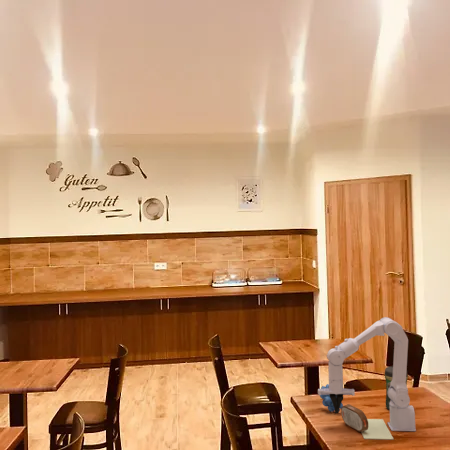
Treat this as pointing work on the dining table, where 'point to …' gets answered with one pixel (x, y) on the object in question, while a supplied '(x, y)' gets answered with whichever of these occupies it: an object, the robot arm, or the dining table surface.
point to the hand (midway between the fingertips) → (336, 412)
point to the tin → (354, 418)
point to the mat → (377, 430)
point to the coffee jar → (388, 380)
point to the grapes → (328, 400)
